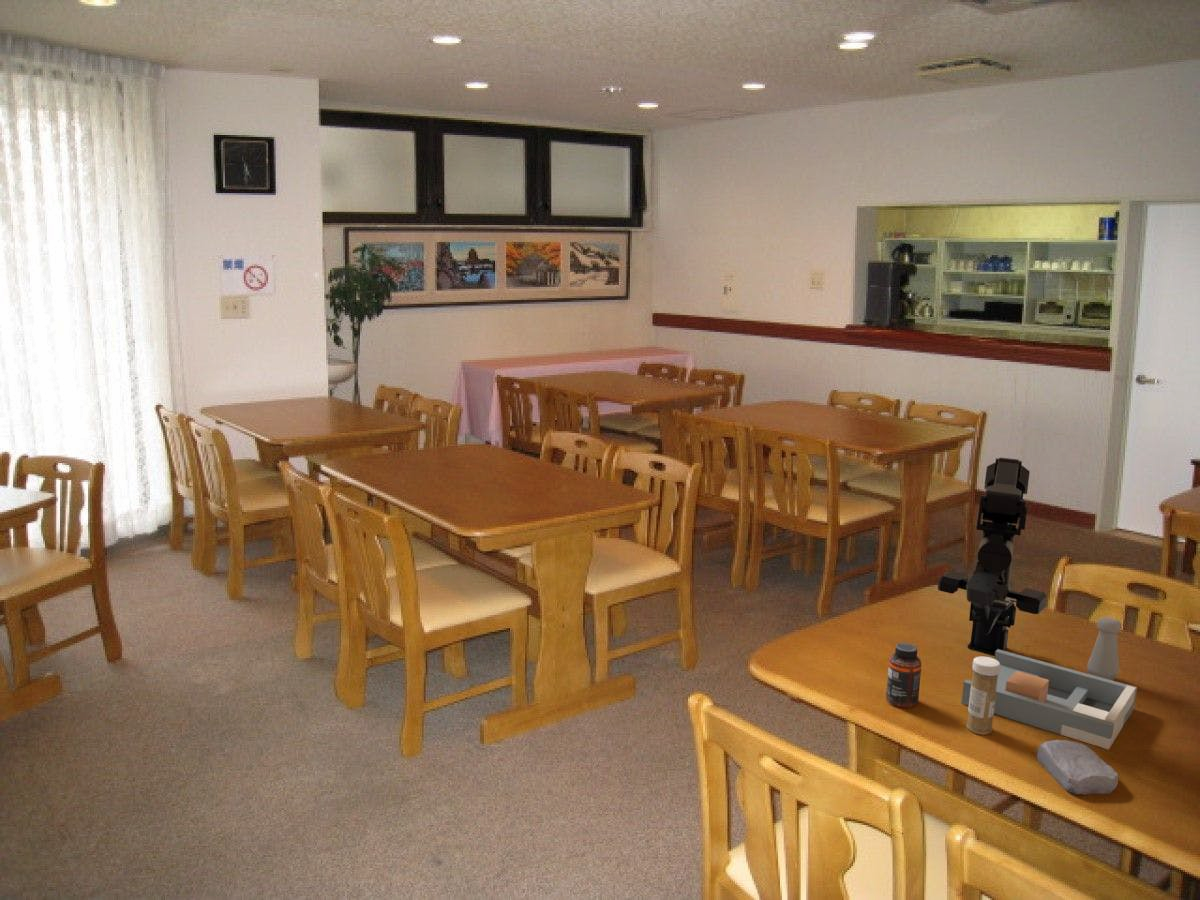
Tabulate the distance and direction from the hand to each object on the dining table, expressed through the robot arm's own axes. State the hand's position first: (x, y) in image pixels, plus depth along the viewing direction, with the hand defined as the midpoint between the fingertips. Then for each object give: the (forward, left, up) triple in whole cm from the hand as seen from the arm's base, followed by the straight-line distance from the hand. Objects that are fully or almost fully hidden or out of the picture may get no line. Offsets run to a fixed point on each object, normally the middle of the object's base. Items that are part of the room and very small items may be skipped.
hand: (986, 633), depth 194 cm
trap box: (+11, +5, -13) cm, 18 cm away
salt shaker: (+16, +25, -13) cm, 32 cm away
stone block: (+23, -18, -14) cm, 32 cm away
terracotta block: (+8, 0, -11) cm, 14 cm away
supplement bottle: (-11, -12, -13) cm, 21 cm away
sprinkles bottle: (+4, -13, -13) cm, 19 cm away
